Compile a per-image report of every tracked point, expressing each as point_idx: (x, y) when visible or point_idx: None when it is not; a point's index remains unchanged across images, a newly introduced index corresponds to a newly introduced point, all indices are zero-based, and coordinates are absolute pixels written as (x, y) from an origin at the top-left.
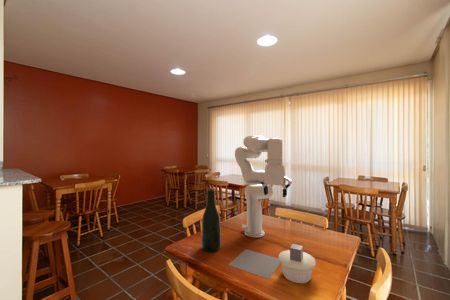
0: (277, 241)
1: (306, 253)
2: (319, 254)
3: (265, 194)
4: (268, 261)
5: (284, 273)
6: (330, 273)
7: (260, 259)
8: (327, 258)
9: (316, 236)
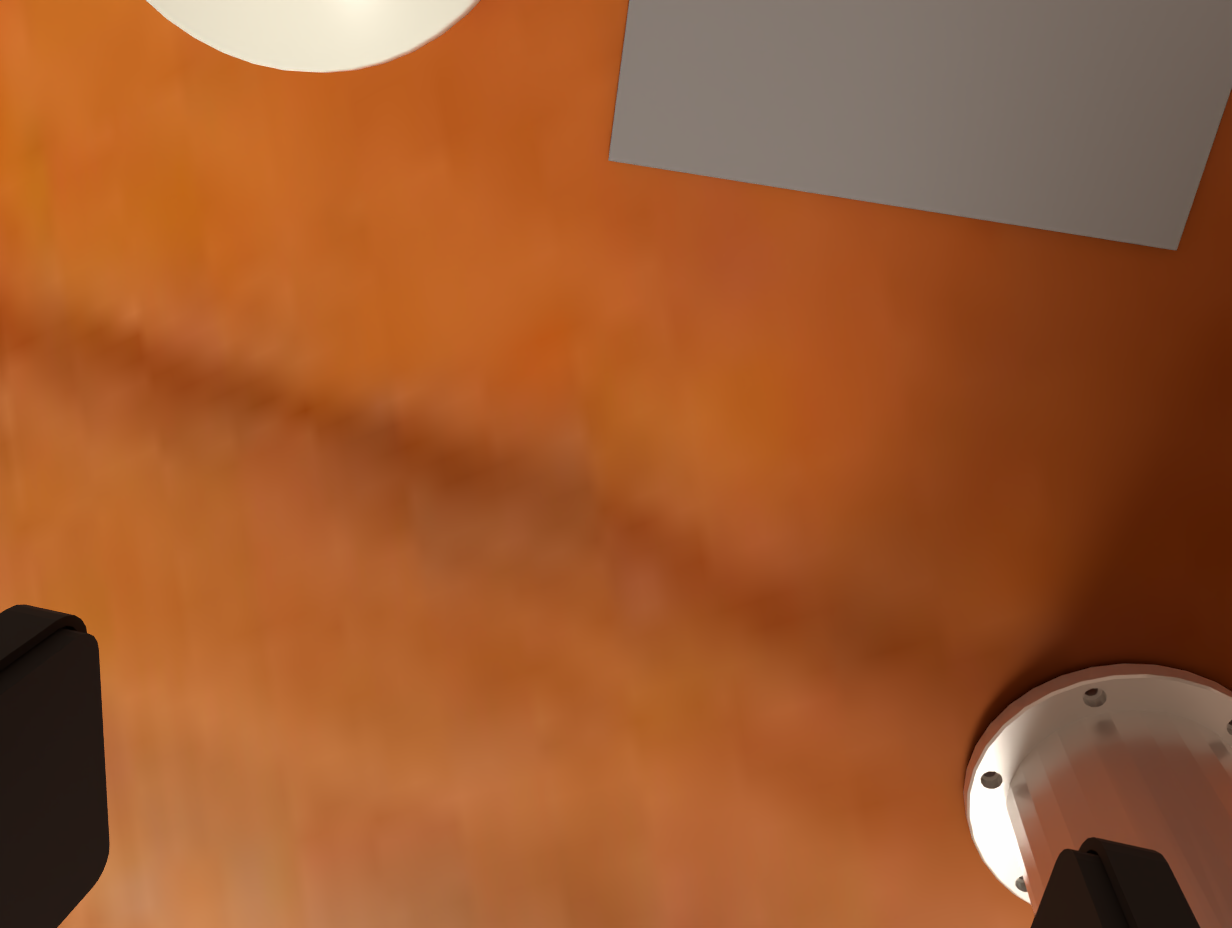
0: (754, 650)
1: (195, 23)
2: (243, 477)
3: (1091, 857)
4: (775, 24)
5: None
6: (81, 90)
7: (895, 32)
8: (157, 415)
9: (336, 898)
